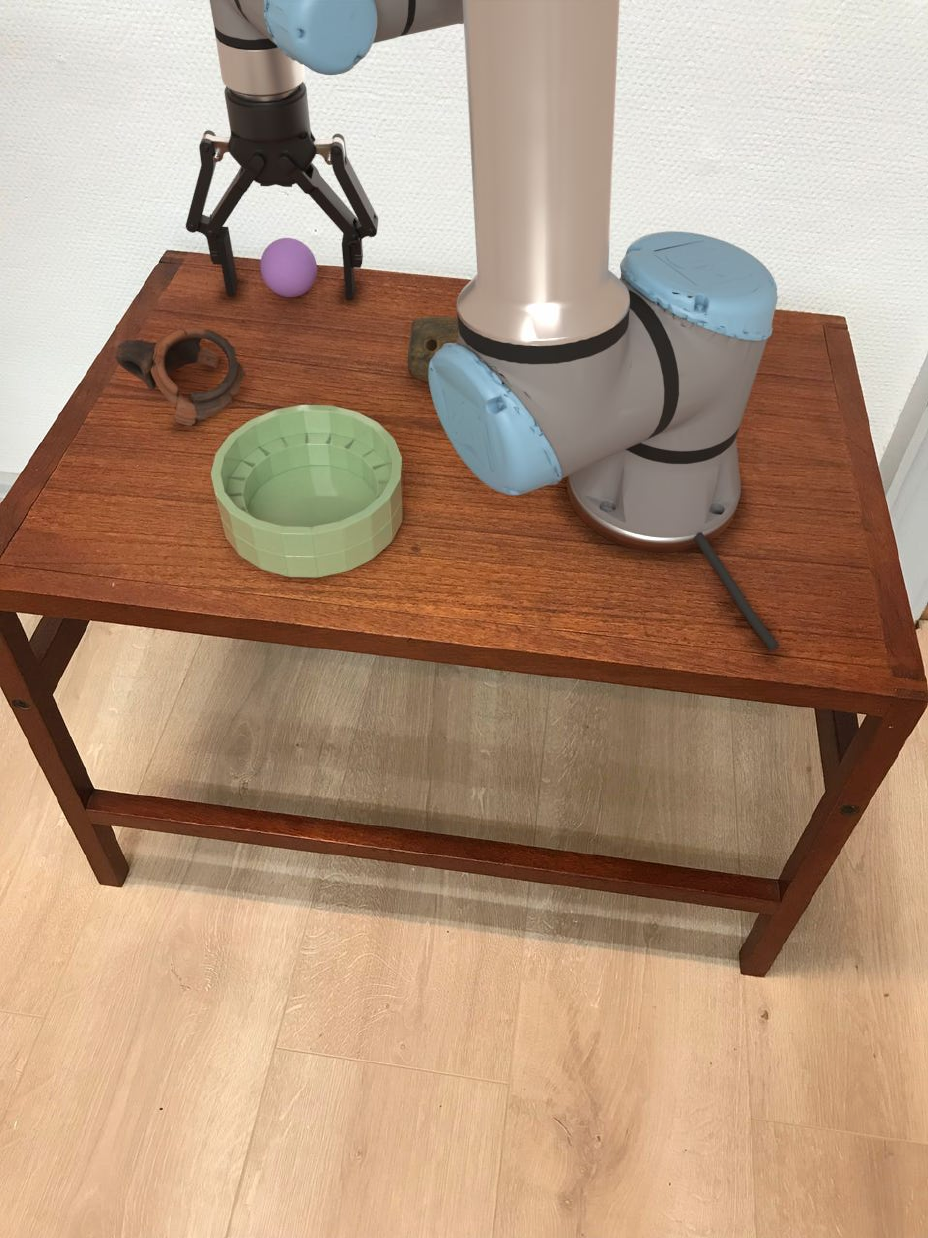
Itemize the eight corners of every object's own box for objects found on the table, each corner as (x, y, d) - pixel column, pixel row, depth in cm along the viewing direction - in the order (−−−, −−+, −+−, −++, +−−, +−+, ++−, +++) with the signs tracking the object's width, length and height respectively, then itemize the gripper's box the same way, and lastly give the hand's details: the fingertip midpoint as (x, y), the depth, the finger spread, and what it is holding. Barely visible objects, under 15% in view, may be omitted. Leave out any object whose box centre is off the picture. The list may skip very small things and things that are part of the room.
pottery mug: (248, 363, 100) (252, 326, 92) (234, 450, 98) (237, 419, 90) (125, 338, 97) (119, 296, 89) (108, 426, 95) (100, 392, 87)
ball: (316, 309, 105) (311, 258, 100) (260, 307, 105) (252, 256, 100) (322, 277, 109) (317, 227, 104) (268, 276, 109) (260, 225, 104)
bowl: (398, 586, 81) (396, 535, 76) (209, 581, 81) (195, 531, 76) (407, 458, 91) (405, 406, 86) (238, 454, 90) (228, 402, 86)
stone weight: (406, 402, 96) (404, 344, 90) (412, 358, 100) (411, 300, 95) (559, 410, 95) (567, 352, 90) (559, 365, 100) (565, 308, 94)
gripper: (399, 69, 92) (404, 273, 109) (140, 61, 92) (186, 268, 109) (395, 105, 88) (401, 313, 104) (122, 97, 87) (173, 307, 104)
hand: (291, 290), depth 107 cm, fingers open, 12 cm apart
